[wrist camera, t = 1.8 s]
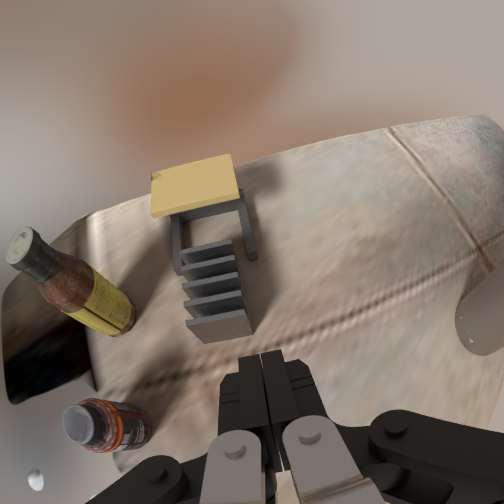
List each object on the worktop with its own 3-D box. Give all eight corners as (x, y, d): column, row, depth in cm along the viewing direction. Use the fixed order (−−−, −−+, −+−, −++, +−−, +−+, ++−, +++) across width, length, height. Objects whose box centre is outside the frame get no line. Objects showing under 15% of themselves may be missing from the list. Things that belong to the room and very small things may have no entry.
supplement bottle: (108, 405, 32) (52, 393, 23) (149, 402, 32) (98, 391, 23) (114, 449, 29) (57, 451, 20) (156, 449, 29) (106, 455, 20)
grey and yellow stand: (244, 202, 46) (234, 152, 38) (257, 258, 41) (248, 212, 33) (174, 218, 46) (151, 173, 38) (177, 276, 41) (149, 235, 33)
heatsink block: (240, 270, 41) (231, 238, 34) (253, 334, 36) (245, 314, 30) (196, 279, 41) (179, 250, 34) (204, 344, 36) (186, 326, 30)
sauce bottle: (125, 288, 41) (42, 199, 24) (145, 321, 38) (52, 239, 21) (92, 314, 39) (-3, 240, 22) (109, 349, 36) (2, 285, 20)
